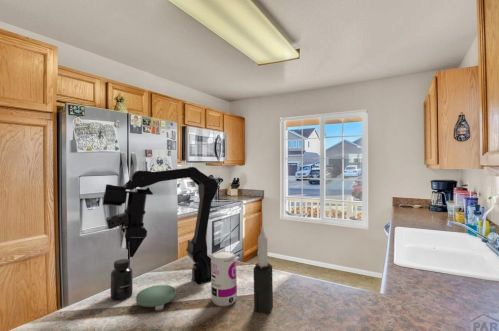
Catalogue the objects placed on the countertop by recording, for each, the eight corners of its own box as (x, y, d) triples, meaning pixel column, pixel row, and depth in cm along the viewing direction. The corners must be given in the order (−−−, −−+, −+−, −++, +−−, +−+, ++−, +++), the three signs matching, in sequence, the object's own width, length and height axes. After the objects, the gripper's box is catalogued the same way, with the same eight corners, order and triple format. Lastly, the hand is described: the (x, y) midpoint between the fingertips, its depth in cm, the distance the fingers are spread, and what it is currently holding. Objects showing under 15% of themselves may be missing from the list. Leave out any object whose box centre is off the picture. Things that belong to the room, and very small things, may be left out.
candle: (273, 305, 83) (272, 225, 83) (269, 314, 78) (268, 229, 78) (258, 303, 84) (256, 224, 84) (253, 311, 80) (251, 228, 80)
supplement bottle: (124, 302, 86) (123, 265, 86) (105, 300, 88) (105, 264, 88) (137, 292, 93) (136, 258, 93) (119, 290, 94) (119, 257, 94)
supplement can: (241, 297, 88) (240, 252, 88) (228, 309, 81) (228, 260, 81) (220, 292, 92) (219, 249, 92) (206, 304, 84) (206, 257, 84)
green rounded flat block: (170, 290, 94) (169, 282, 94) (180, 305, 84) (180, 295, 84) (133, 299, 88) (133, 290, 88) (139, 317, 77) (139, 307, 77)
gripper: (108, 202, 95) (101, 246, 93) (111, 209, 79) (103, 262, 77) (141, 204, 100) (135, 245, 99) (150, 211, 84) (143, 260, 83)
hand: (129, 253), depth 89 cm, fingers open, 9 cm apart
